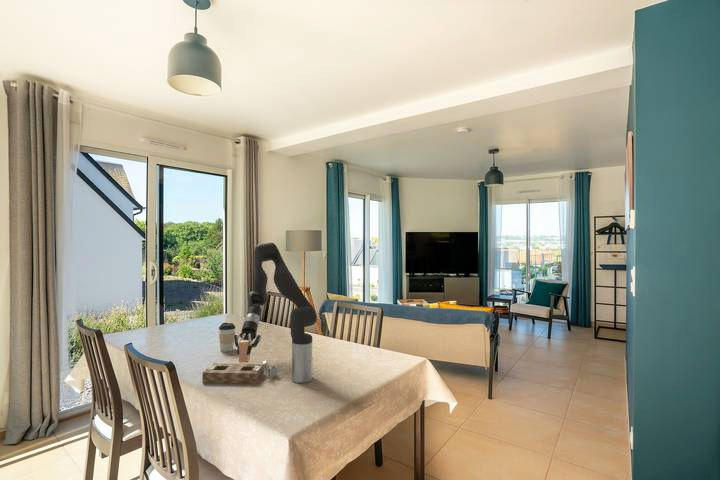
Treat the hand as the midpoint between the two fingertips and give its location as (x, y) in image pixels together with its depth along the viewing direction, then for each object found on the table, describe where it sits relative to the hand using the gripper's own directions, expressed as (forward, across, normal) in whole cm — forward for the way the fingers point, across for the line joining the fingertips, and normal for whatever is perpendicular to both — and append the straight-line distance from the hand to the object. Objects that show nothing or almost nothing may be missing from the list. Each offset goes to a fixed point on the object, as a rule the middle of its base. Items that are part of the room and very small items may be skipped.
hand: (243, 354), depth 181 cm
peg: (+2, 0, +4) cm, 5 cm away
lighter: (+12, +16, -2) cm, 20 cm away
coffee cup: (-16, -19, +26) cm, 36 cm away
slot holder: (+14, 0, -3) cm, 14 cm away
